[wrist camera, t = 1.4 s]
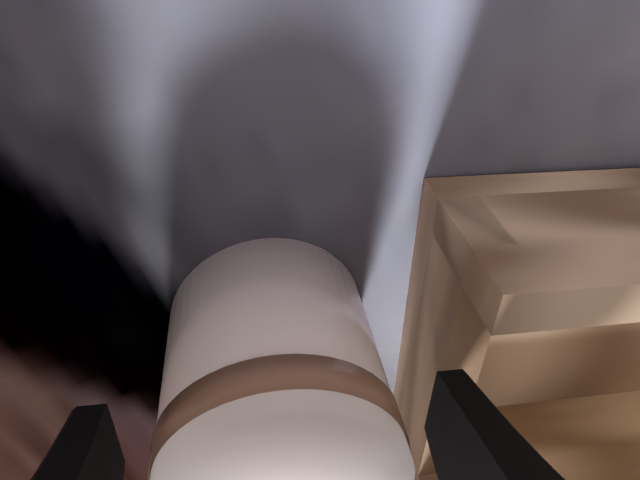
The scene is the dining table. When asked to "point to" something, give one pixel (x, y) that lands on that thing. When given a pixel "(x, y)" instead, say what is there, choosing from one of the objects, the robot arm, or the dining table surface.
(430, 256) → the rack
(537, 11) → the dining table surface
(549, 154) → the dining table surface
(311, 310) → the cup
